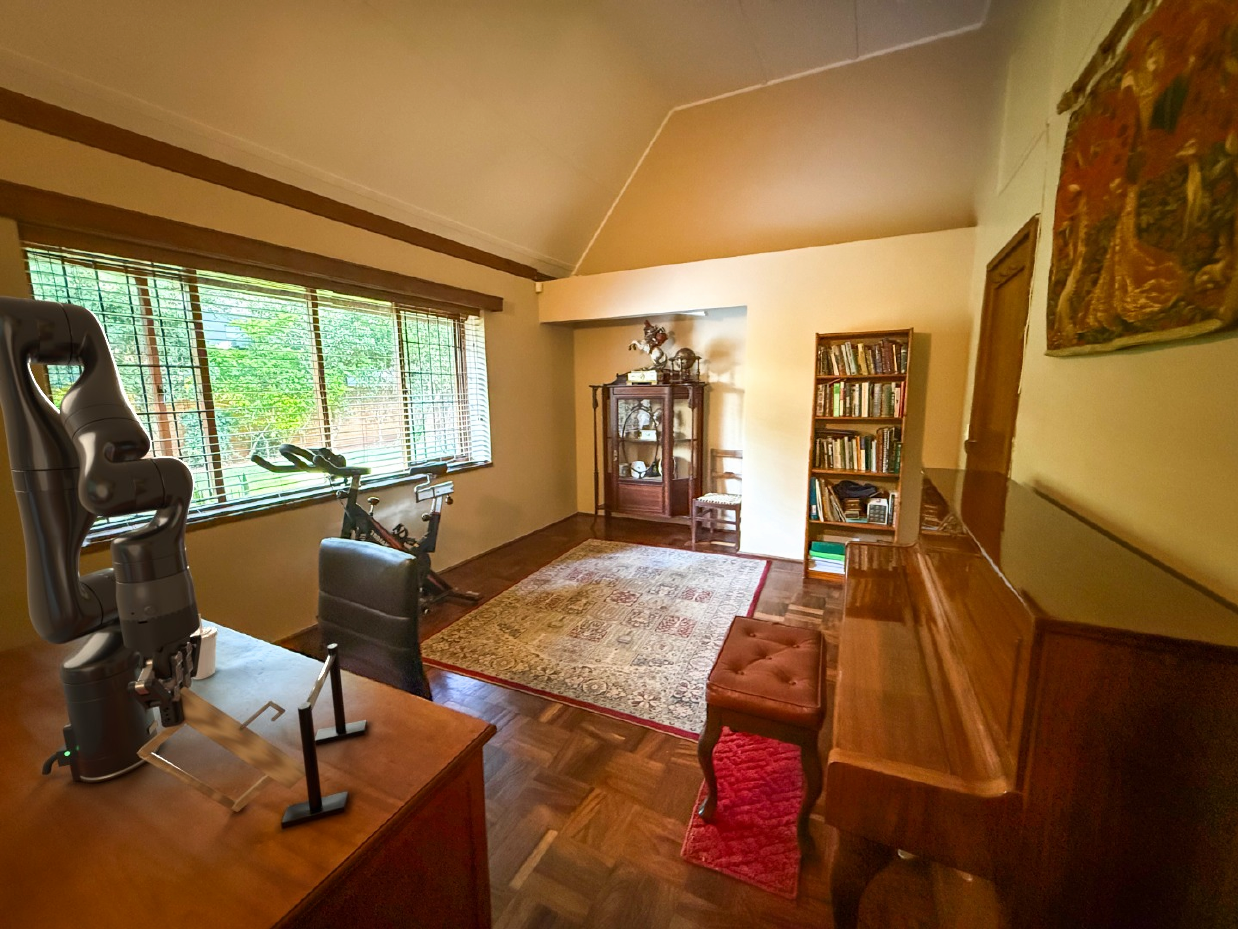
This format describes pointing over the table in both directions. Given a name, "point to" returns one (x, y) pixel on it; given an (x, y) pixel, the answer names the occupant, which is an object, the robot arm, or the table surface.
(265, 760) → the hanger
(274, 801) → the table surface
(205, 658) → the smoothie
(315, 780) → the rail stand
